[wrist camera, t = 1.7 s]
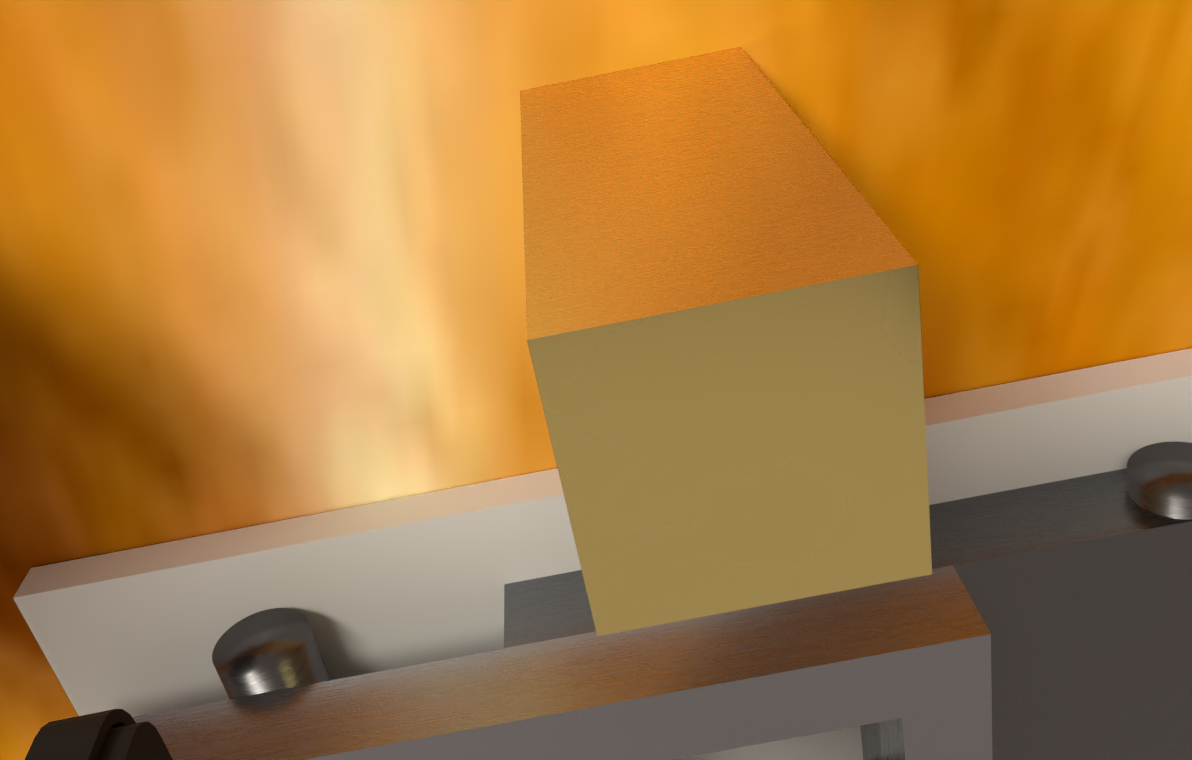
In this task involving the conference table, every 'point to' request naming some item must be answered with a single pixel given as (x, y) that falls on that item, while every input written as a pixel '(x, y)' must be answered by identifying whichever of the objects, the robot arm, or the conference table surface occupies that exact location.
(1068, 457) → the board
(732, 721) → the gray toy truck
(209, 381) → the conference table surface
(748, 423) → the pin
